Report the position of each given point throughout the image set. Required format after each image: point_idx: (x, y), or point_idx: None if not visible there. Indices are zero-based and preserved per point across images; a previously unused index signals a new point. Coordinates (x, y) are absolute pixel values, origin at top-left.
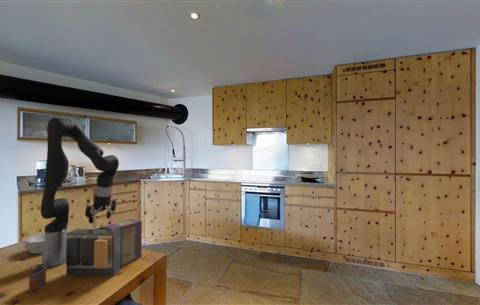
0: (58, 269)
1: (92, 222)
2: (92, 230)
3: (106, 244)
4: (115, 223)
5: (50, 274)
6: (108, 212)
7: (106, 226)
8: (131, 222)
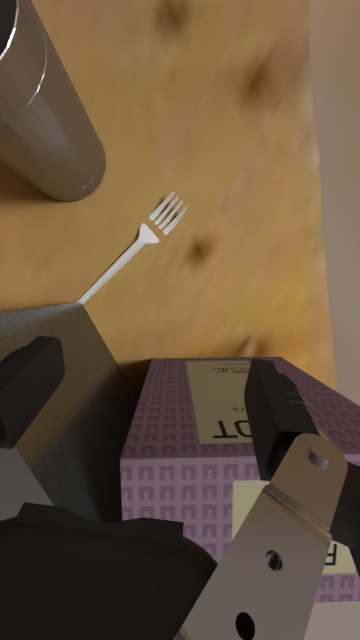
0: (47, 238)
1: (53, 385)
2: (3, 494)
3: None
4: (249, 466)
5: (12, 256)
6: (268, 464)
7: (143, 485)
8: (341, 562)
